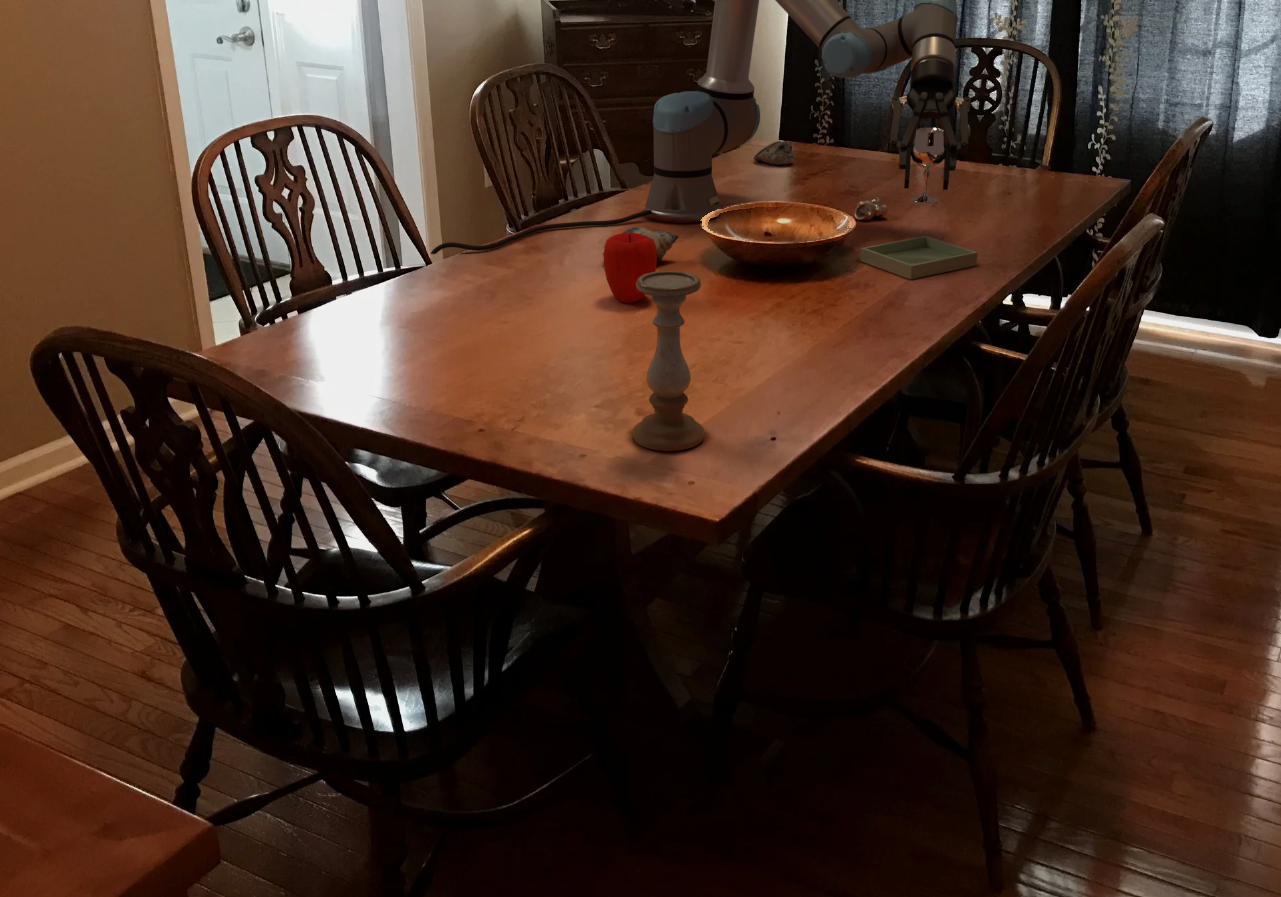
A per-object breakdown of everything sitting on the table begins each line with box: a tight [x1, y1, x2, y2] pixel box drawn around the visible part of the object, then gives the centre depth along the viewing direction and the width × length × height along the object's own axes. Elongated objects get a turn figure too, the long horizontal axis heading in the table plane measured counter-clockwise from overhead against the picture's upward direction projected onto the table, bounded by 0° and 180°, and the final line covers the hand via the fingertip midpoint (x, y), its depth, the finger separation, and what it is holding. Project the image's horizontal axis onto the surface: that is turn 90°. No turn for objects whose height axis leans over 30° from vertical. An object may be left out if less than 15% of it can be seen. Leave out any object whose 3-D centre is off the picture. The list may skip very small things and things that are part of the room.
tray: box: [859, 235, 978, 280], centre depth 223 cm, size 15×13×2 cm
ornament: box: [853, 196, 889, 221], centre depth 252 cm, size 8×7×4 cm
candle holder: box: [632, 270, 705, 452], centre depth 153 cm, size 9×9×20 cm
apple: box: [603, 232, 658, 304], centre depth 205 cm, size 9×9×11 cm
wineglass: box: [910, 127, 947, 204], centre depth 217 cm, size 6×6×12 cm
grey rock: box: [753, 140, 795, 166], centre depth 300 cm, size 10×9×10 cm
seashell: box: [602, 226, 679, 263], centre depth 225 cm, size 6×8×12 cm
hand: (926, 184), depth 215 cm, fingers closed on wineglass, 6 cm apart
